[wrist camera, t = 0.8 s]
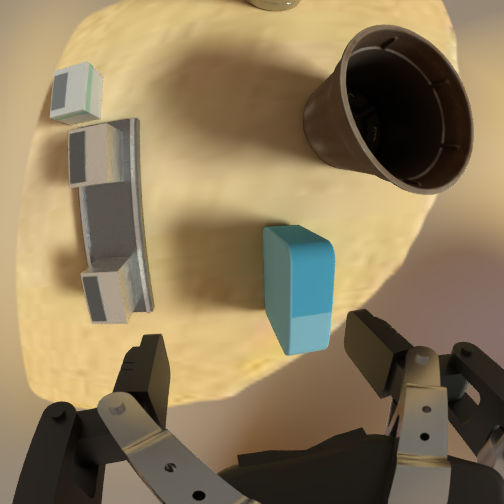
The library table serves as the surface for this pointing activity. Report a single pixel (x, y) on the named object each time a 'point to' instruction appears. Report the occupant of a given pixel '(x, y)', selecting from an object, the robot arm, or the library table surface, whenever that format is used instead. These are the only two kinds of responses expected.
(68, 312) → the library table surface
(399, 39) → the plant pot
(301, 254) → the data package
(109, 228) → the rail
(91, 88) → the block
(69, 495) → the robot arm
